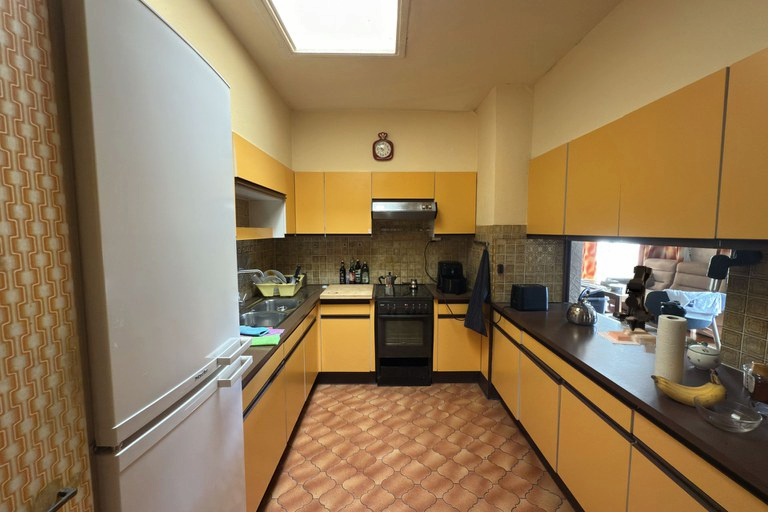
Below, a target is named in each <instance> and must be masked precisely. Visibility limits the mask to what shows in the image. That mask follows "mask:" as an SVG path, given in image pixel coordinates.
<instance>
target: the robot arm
mask: <svg viewBox="0 0 768 512" xmlns="http://www.w3.org/2000/svg"><path fill="white" fill-rule="evenodd" d="M653 269H654V268H652V267H650V266H647V265H639V264H637V265H636V266H633V274H634V275H633V278H631V279H629V280H628V282H627V283H626V286H625V292H624V294H625V295H628V296H627V297H626V298H625V300H624V304H625V305H626V307H627V310H626V311H625V313H623V312H622V311H613V312H612V317H613V318H614V319H617V320H626V322H627V324H628V325H629V326H628V327H629V328H630V329H631V331H634V330H635V328H637V329H642V330H644V331H646V332H648V333H649V331H648V330H647V329H646V323H650V321H653V322H654V321H655V322H656V320H657V319H656V315H654V314H652V312H651V311H648V308H647V306H646V304H645V303H646V293H647V283H648V281H649V280H650V279H651V276H652V275H653V271H654V270H653Z"/></svg>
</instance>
